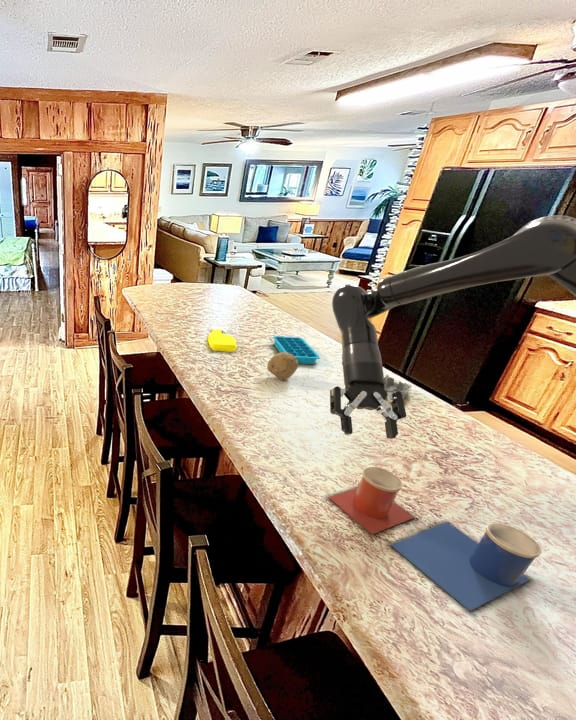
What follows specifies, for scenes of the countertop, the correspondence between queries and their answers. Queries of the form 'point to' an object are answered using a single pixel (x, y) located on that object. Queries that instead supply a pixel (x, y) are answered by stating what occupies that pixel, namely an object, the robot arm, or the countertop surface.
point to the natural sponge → (282, 365)
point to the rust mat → (369, 523)
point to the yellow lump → (221, 340)
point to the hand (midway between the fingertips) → (369, 436)
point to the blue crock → (504, 554)
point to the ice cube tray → (296, 349)
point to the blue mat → (451, 564)
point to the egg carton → (396, 386)
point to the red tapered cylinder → (376, 492)
